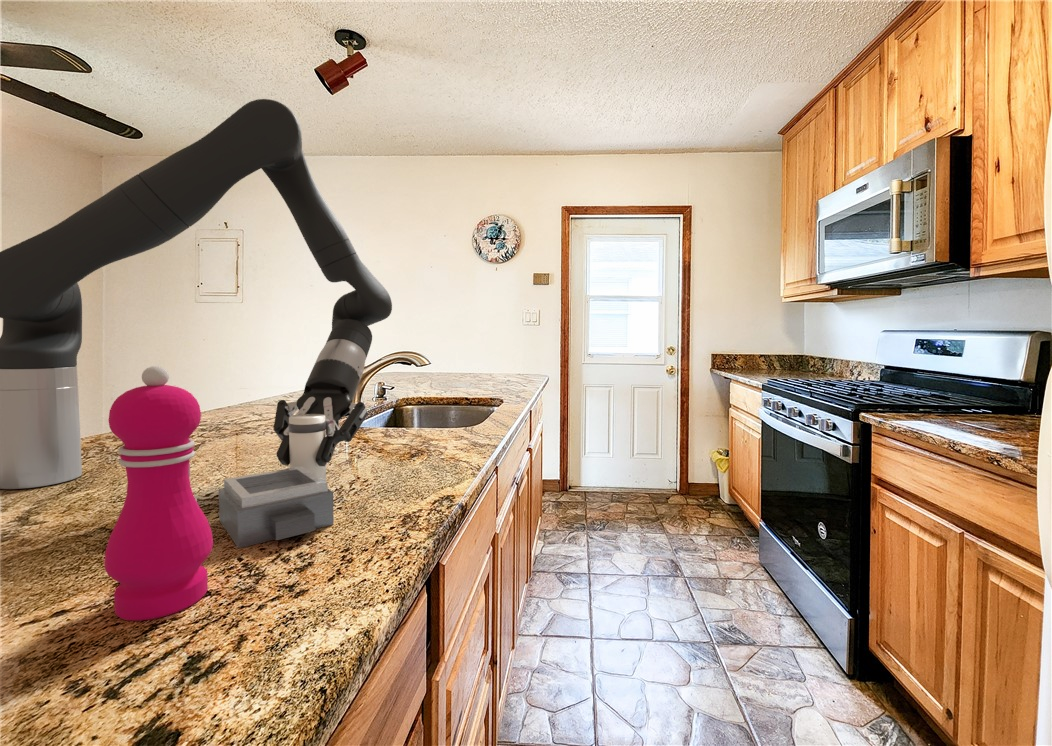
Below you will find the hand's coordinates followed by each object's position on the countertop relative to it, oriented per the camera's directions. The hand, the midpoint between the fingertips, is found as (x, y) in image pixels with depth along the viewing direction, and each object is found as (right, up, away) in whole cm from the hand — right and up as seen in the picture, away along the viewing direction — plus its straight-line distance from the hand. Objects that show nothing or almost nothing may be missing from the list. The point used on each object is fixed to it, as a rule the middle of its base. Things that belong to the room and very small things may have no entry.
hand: (301, 462), depth 67 cm
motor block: (+2, -5, -11) cm, 12 cm away
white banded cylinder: (0, -5, +2) cm, 5 cm away
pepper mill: (+1, -7, -27) cm, 28 cm away
